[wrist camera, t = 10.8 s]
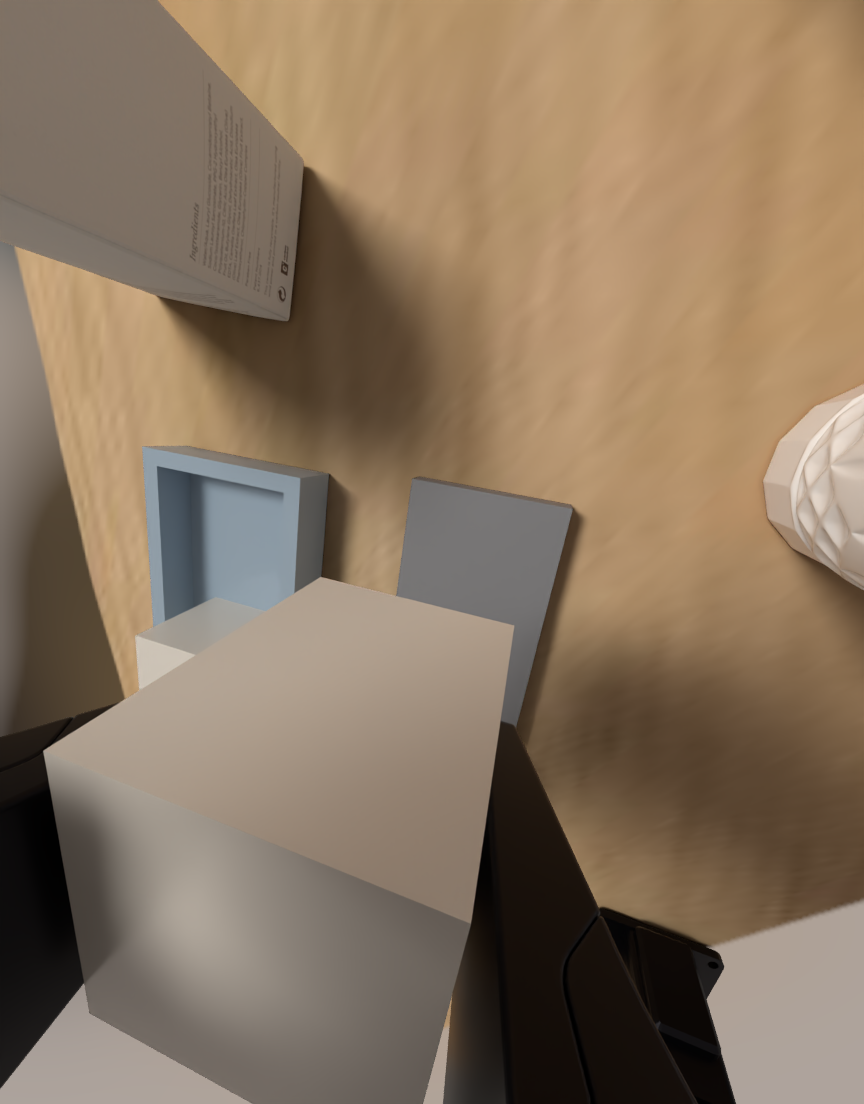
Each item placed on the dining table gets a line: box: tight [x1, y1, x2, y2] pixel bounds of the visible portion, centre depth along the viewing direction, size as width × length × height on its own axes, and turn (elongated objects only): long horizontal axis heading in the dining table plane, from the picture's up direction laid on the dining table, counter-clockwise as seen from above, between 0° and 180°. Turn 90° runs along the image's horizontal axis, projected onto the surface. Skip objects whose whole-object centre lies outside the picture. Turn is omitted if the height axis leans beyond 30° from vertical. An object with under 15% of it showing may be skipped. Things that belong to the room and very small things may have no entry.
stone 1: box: [135, 597, 265, 690], centre depth 21 cm, size 4×4×5 cm
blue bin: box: [142, 446, 329, 627], centre depth 22 cm, size 15×9×3 cm, turn 171°
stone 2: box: [43, 577, 514, 1104], centre depth 6 cm, size 4×4×5 cm
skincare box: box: [0, 0, 304, 321], centre depth 12 cm, size 8×7×16 cm
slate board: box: [396, 477, 573, 727], centre depth 21 cm, size 17×7×1 cm, turn 171°
